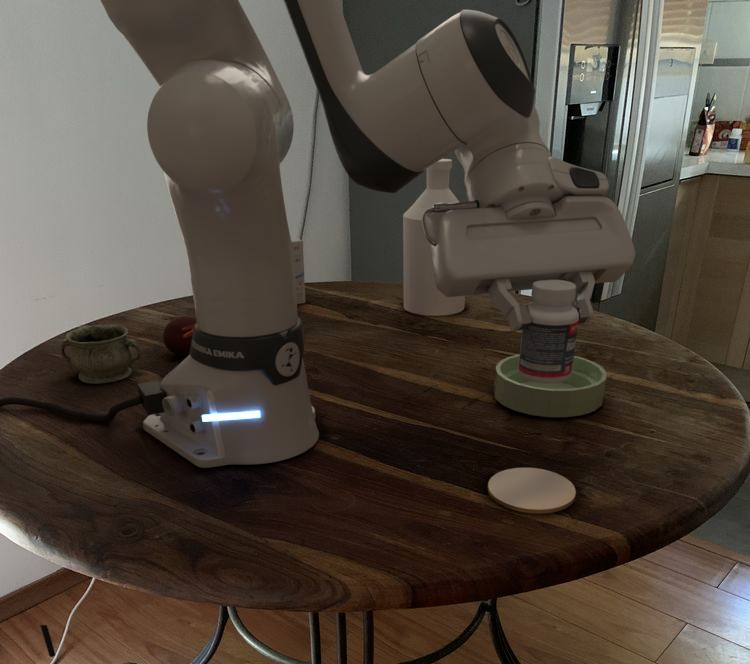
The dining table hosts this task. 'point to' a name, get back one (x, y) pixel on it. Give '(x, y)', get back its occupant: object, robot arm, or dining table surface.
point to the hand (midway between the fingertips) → (553, 324)
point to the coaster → (531, 490)
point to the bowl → (551, 390)
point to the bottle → (426, 249)
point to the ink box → (299, 269)
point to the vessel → (101, 353)
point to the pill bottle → (549, 333)
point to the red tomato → (179, 335)
